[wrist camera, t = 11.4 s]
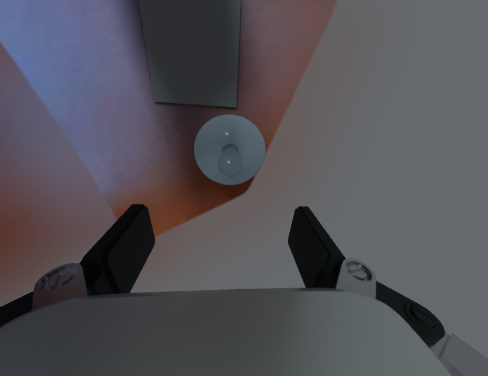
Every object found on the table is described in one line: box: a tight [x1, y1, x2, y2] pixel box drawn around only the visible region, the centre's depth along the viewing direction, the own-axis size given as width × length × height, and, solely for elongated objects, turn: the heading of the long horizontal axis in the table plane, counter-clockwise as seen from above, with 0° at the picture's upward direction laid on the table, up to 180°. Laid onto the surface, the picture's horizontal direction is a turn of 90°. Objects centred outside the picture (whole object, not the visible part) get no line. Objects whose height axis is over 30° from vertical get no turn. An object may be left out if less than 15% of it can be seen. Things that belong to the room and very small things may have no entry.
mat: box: [139, 0, 241, 107], centre depth 31 cm, size 16×16×1 cm
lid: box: [194, 114, 265, 185], centre depth 24 cm, size 11×11×8 cm
